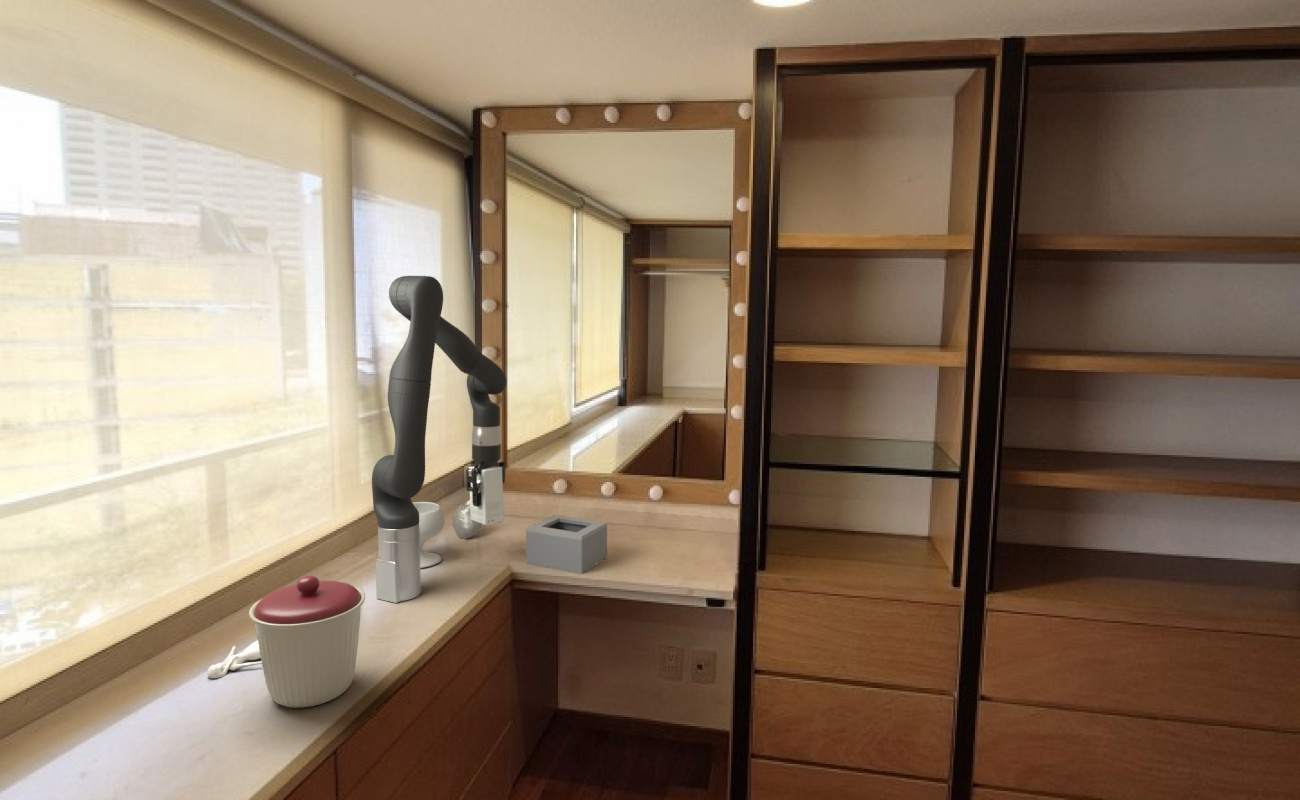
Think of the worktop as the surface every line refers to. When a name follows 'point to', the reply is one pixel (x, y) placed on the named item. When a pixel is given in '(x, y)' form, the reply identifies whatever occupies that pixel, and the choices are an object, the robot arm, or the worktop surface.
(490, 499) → the skincare box
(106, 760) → the worktop surface
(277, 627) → the canister
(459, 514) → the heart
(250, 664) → the woman figurine
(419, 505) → the chalice
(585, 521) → the open gray box
